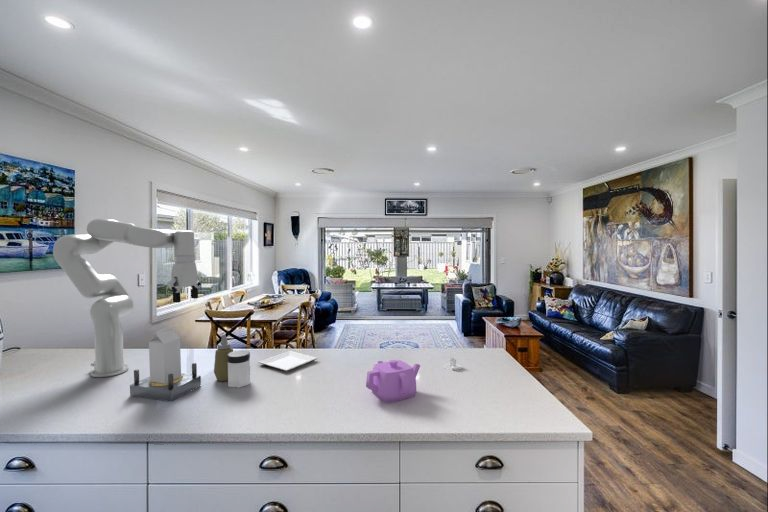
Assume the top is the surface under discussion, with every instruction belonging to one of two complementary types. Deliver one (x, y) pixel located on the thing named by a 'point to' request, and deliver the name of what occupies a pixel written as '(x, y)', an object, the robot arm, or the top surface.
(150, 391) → the grey pegged base
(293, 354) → the plate
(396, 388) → the teakettle
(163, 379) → the milk carton
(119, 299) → the robot arm
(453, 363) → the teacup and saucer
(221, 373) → the squeeze bottle
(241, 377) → the jar
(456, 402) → the top surface
